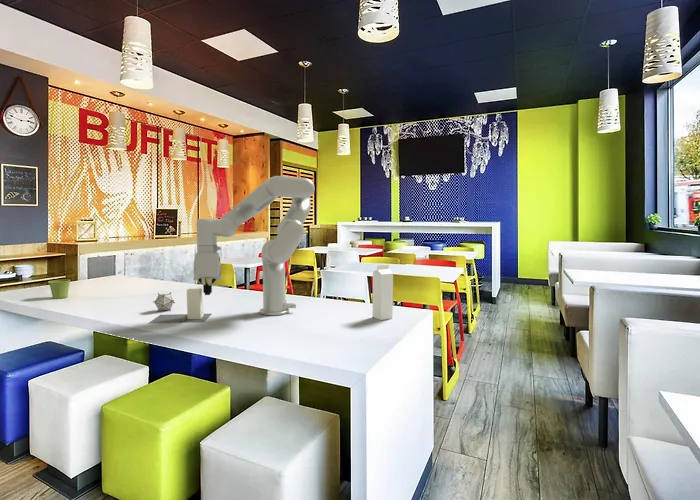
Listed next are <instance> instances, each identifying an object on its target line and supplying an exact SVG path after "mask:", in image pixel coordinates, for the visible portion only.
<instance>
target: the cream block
mask: <svg viewBox="0 0 700 500" xmlns="http://www.w3.org/2000/svg"><path fill="white" fill-rule="evenodd" d="M186 307H187V308H186V309H187V310H186V314H187V319H188V320H195V319H201V318H202V317H203V316H204V314H205V313H204V293H203V287H189V288H188V289H186Z"/></svg>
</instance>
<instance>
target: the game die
mask: <svg viewBox="0 0 700 500" xmlns="http://www.w3.org/2000/svg"><path fill="white" fill-rule="evenodd" d="M171 294H172V292H169V293H161V294H160V293H159V292H158V293H157V296H156V299H155V300H153V301H152V303H154V305H155V306H156V308H157V312H158V313H159V312H160V311H169V312H171V308H172V306H173V305H174V304H176V302H175V300H174V299H173V298H172V295H171Z"/></svg>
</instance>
